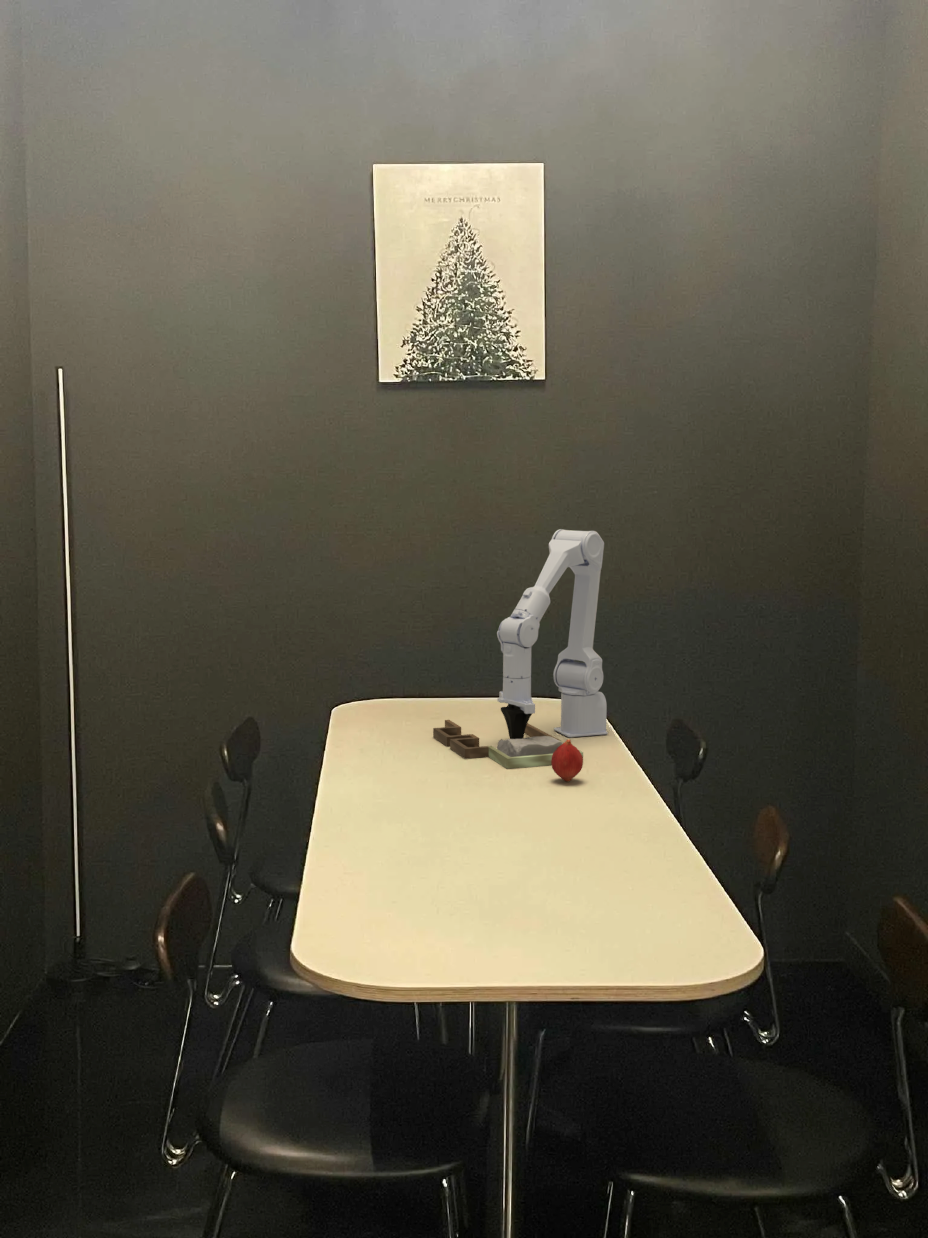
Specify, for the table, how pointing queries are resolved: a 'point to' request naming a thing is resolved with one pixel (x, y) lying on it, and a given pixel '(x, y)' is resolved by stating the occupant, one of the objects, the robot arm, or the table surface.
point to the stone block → (529, 746)
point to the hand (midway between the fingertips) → (516, 741)
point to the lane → (489, 747)
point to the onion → (567, 761)
